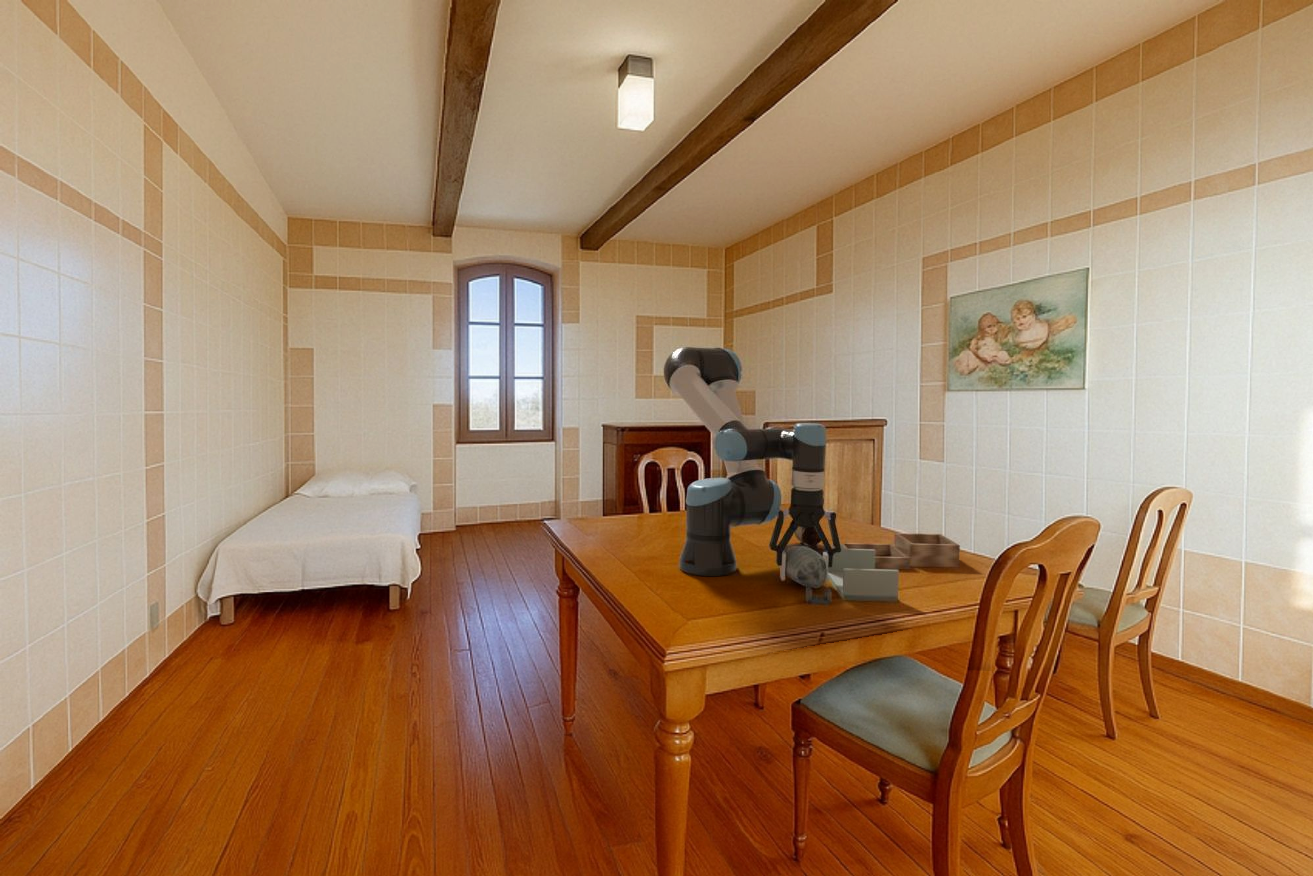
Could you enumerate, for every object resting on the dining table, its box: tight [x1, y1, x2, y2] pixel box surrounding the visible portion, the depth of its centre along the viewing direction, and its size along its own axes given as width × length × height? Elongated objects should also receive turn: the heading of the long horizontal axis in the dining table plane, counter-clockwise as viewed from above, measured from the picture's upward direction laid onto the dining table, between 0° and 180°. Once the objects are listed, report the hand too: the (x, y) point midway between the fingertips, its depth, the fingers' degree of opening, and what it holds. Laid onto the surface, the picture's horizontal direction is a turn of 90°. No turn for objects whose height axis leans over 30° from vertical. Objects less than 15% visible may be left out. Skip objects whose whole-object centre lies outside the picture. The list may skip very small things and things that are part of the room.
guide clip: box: [805, 586, 832, 605], centre depth 141 cm, size 5×3×3 cm, turn 87°
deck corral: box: [840, 542, 911, 570], centre depth 175 cm, size 15×15×3 cm
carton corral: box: [893, 532, 961, 568], centre depth 176 cm, size 13×13×6 cm
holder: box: [826, 549, 900, 603], centre depth 151 cm, size 12×19×7 cm, turn 177°
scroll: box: [784, 497, 826, 557], centre depth 174 cm, size 15×15×20 cm
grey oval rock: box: [785, 546, 827, 589], centre depth 152 cm, size 14×10×10 cm
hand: (803, 579), depth 152 cm, fingers closed on grey oval rock, 9 cm apart
